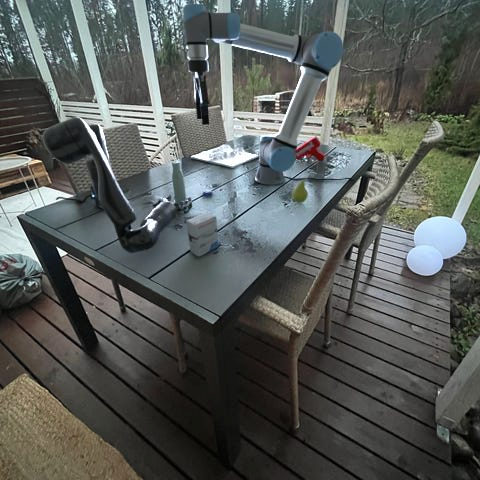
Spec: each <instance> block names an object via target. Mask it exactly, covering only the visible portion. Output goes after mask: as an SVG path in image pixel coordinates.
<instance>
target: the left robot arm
mask: <svg viewBox="0 0 480 480" xmlns="http://www.w3.org/2000/svg"><path fill="white" fill-rule="evenodd" d="M42 141H43V145H44V147H45V149H46V150H47V152H48V153H49V154H50V155H51V157H53V158H54V159H55V160H56V161H58V162H60V163H62V164H65V165H69V164H73V163H76V162H78V161H80V160H82V159H85V158H87V157H88V158H87V159H86V160H85V161H84V164H85V167H86V170H87V173H88V177H89V180H90V182H91V184H90V190H91V193H89V194H88V195H86V196H85V197H84V199H79V198H69V197H64V196H58V197H56V198H55V201H58V200H59V199H62V200H65V201H76V202H81V203H84V202H86V201H87V199H88V198H90V199H91V200H94V202H95V206H96V207H98V208H99V209H102V210H103V211H104V213H105V214H106V216H107V217H108V219H109V220H110V221H111V223H112V225H113V226H114V230H115V234H116V236H117V239H118V242H119V244H120V246H121V247H122V249H123V250H125V252H127V253H129V254H135V253H136V254H137V253H140V252H144V251H148V250H151V249H153V248H154V247H155V246H156V245H157V243H158V241H159V238H160V236H161V233H162V232H163V231H164V230H165V229H166V228H167V227H169V226H170V224H171V223H172V222H173V221H174V220H175V218H176V217H177V216H178V214H179V213H178V212H180V211H184V213H183V214H188V213H189V212H190V211H191V209H192V208H193V201H192V197H191V196H190V195H189V196H186V200H184V201H181V200H180V201H177V202H175V201H171V200H172V196H171V194H168V195H166V196H165V197H163V198H160V197H158V198H157V199H155V200H154V202H152V208H153V209H152V210H151V211H150V213H149V214H148V215H147V216H146V217H145V218H143V220H141V222H140V224H139V225H140V226H139V227H138V228H135V229H133V227H132V224H133V223H135V221H136V220H137V217H138V216H137V213H136V211H135V210H134V207H133V206H132V205H131V203H130V201H129V200H128V198H127V197H126V195H125V194H124V192H123V190H122V188H121V186H120V184H119V182H118V180H117V178H116V175H115V174H114V171H113V168H112V163H111V160H110V156H109V153H108V149H107V145H106V139H105V134H104V132H103V128H102V127H101V125H100V124H98V123H91V124H90V123H89V124H87V123H86V122H85V121H84V120H83V119H82V118H81V117H79V116H74V117H71V118H69V119H66V120H64V121H60V122H59V123H56V124H54V125H51V126H49V127H47V128H46V129H45V130H43V133H42ZM179 203H180V205H181V207H180V205H179ZM184 203H185V205H184Z"/></svg>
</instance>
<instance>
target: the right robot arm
mask: <svg viewBox="0 0 480 480" xmlns="http://www.w3.org/2000/svg"><path fill="white" fill-rule="evenodd" d="M182 8H183V9H182V12H183V25H184V36H185V44H186V48H185V49H184V51H185V52H186V54H187V55H186V56H187V59H188V60H187V68H188V72H189V73H194V74H193V75H192V76H193V89H194V90H193V94H194V95H193V99H194V101H195V113H196V120H201V125H202V126H206V125H207V126H208V125H210V113H209V105H210V101H209V100H210V99H209V94H208V86H207V76H206V75H205V74H204V73H208V72H210V69H209V66H210V65H209V61H208V60H207V59H208V58H209V49H208V40H210V41H213V42H214V43H217V44H225V45H229V46H234V47H238V48H242V49H245V50H246V49H247V50H251V51H256V52H258V53H264V54H268V55H271V56H272V55H273V56H275V57H276V56H277V57H280V58H284V59H287V60H288V62H290V63H293V64H297V65H299V66H300V71H301V75H300V78H299V81H298V84H297V86H296V89H295V91H294V92H293V93H294V94H293V95H292V99H291V101H290V103H289V106H288V109H287V111H286V114H285V116H284V119H283V121H282V123H281V126H280V128H279V131H278V132H277V133H276V134H263V135H261V136H260V138H259V153H258V167H257V171H256V174H255V178H254V181H255V183H258V184H259V185H262V186H263V185H264V186H279V185H281V184H283V183H284V181H285V179H287V180H290V181H291V180H292V181H302V180H305V179H306V178H307V177H299V178H298V177H297V178H295V177H291V176H290V177H289V176H285V175H284V172H287V171H289V170H291V168H293V166H294V165H295V163H296V161H295V160H296V155H295V151H296V149H297V148H298V147H299V143H298V137H299V136H300V134H301V130H303V129H302V128H303V126H304V124H305V121H306V119H307V117H308V114H309V112H310V110H311V107H312V105H313V103H314V101H315V99H316V96H317V93H318V92H319V89H320V88H321V87H320V86H321V85H322V82H324V81H325V80H327V79H328V77H329V76H330V73H331V71H332V69H334V68H335V67H336V66H337V65H338V64H339V63H340V62H341V59H342V57H343V55H344V44H343V40H342V38H341V36H340V35H339V34H338V33H336V32H334V31H328V30H325V31H322V32H320V33H316V34H309V35H301V34H298V33H297V34H294V35H288V34H285V33H281V32H276V31H273V30H268V29H265V28H260V27H256V26H252V25H249V24H245V23H242V22H241V18H240V15H239V14H238V13H236V12H209V11H206V7H205V5H204V4H201V3H187V4H185V5H184V6H183V7H182ZM306 180H313V181H343V180H349V181H353V179H352V178H351V177H350V178H345V179H334V178H320V179H315V177H309V178H307V179H306ZM306 180H305V181H306Z"/></svg>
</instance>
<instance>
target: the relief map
mask: <svg viewBox="0 0 480 480" xmlns="http://www.w3.org/2000/svg"><path fill="white" fill-rule="evenodd" d="M190 158H191V159H192V160H197V161H201V162H205V163H209V164H210V163H211V164H214V165H218V166H221V167H222V166H223V167H228V168H231V169H233V168H234V169H235V168H236V167H238V166H241V165H242V164H246V163H248V162H250V161H252V160H255V159H259V154H256V153H254V154H253V153H250V152H248V151H246V150H245V149H244V148H243V147H240V148H237V149H234V148H232V147H231V146H230V145H229V144H224V143H223V144H222V145H220V146H218V147H215V148H212V149H209V150H205V151H201V152H200V153H198V154H194V155H191V156H190Z"/></svg>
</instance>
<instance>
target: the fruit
mask: <svg viewBox="0 0 480 480" xmlns="http://www.w3.org/2000/svg"><path fill="white" fill-rule="evenodd" d="M305 178H306V179H305V180H300V182H298V184H297V185H296V186H295V187H294V188H293V190H292V191H291V198H292V200H293V201H294V202H295V203H297V204H301V203H304V202H305V201H306V200H307V198H308V196H309V195H308V190H307V189H306V184H305V183H306V180H308V179H307V178H311V175H310V174H309V175H308V176H307V177H305Z"/></svg>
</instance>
